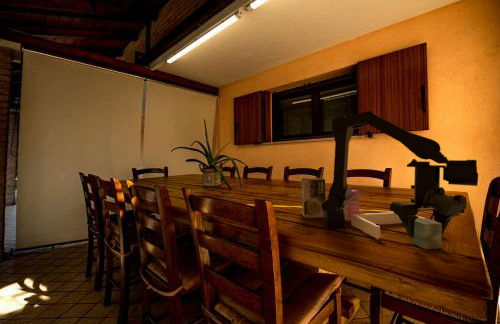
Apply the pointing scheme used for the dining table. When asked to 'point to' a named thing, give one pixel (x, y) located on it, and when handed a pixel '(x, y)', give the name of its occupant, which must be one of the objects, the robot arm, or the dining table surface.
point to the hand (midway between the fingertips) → (425, 236)
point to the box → (352, 205)
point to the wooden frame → (374, 222)
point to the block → (427, 234)
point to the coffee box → (313, 197)
